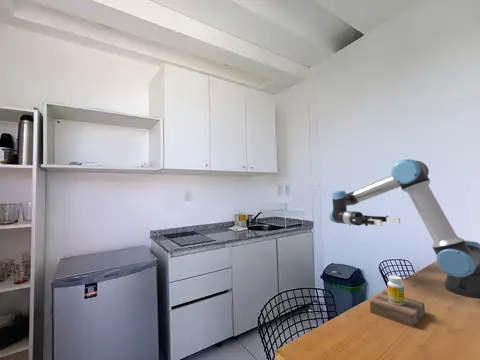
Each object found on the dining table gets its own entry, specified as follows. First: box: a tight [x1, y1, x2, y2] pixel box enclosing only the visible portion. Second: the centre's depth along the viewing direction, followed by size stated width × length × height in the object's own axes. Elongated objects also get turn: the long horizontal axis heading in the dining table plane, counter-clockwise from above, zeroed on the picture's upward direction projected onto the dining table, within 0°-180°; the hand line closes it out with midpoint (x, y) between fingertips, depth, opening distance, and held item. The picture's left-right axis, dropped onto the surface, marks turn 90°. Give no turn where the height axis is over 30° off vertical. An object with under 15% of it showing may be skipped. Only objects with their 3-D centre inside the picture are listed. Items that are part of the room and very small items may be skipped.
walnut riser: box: [369, 291, 426, 328], centre depth 93 cm, size 14×14×4 cm
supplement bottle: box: [387, 275, 405, 305], centre depth 93 cm, size 5×5×10 cm
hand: (390, 221), depth 116 cm, fingers open, 13 cm apart
